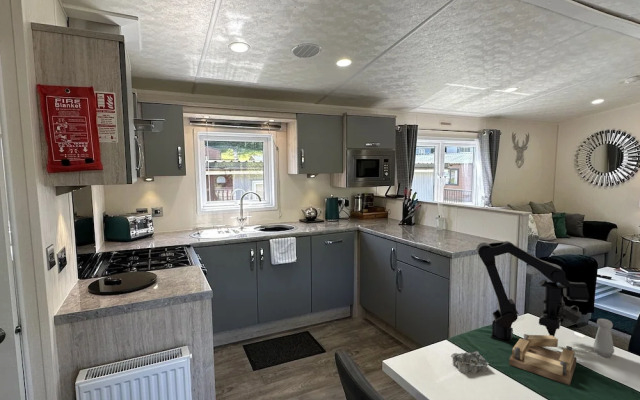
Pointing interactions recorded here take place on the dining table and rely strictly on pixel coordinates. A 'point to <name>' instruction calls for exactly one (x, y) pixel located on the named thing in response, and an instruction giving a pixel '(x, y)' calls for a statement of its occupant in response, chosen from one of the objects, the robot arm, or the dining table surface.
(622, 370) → the dining table surface
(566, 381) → the wooden slat frame
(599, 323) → the salt shaker
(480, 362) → the grey jagged rock
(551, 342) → the hinged leg
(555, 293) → the robot arm
